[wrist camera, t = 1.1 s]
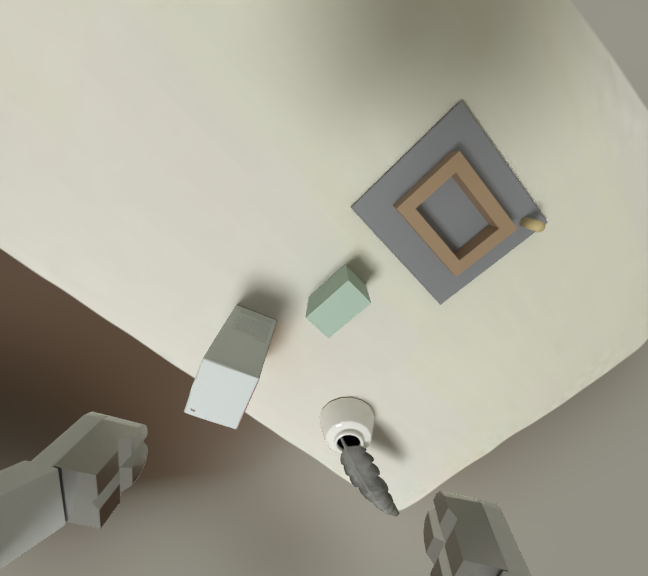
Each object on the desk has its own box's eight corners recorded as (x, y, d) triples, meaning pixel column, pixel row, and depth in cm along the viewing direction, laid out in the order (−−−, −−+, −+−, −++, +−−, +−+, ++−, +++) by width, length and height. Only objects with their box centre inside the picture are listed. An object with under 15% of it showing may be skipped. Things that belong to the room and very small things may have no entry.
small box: (259, 362, 47) (236, 431, 35) (219, 347, 46) (181, 413, 34) (278, 319, 44) (260, 378, 32) (236, 303, 43) (201, 357, 31)
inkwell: (352, 386, 49) (358, 439, 39) (414, 452, 54) (432, 512, 45) (307, 414, 51) (303, 470, 42) (371, 474, 56) (379, 536, 47)
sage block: (308, 297, 43) (305, 317, 37) (345, 264, 41) (348, 280, 36) (328, 315, 44) (328, 338, 38) (365, 284, 42) (371, 302, 37)
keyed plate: (350, 206, 38) (353, 211, 35) (459, 102, 34) (474, 95, 30) (438, 302, 43) (448, 314, 39) (543, 221, 38) (565, 227, 35)
